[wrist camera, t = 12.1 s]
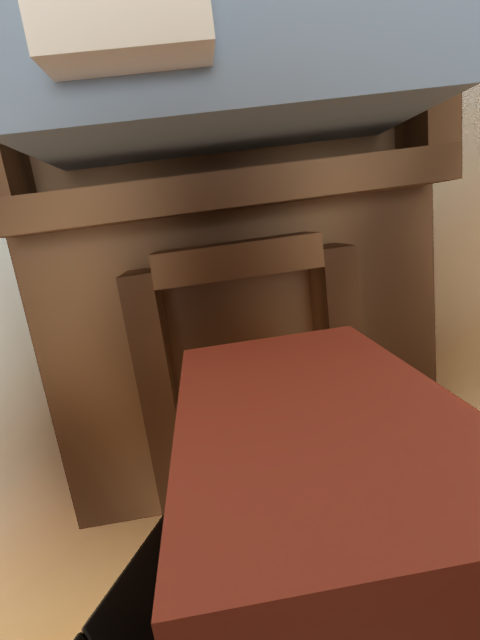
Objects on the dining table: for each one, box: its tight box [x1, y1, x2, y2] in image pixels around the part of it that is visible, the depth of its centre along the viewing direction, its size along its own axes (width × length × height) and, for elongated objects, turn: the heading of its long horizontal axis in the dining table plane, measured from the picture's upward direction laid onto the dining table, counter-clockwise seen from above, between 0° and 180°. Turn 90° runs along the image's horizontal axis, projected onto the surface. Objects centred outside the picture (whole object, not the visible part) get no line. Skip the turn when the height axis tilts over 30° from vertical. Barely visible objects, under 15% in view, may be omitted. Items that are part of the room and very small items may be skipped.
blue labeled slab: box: [0, 0, 480, 171], centre depth 10 cm, size 10×4×6 cm, turn 97°
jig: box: [0, 92, 462, 529], centre depth 13 cm, size 14×20×3 cm
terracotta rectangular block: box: [151, 326, 480, 640], centre depth 6 cm, size 4×6×6 cm, turn 7°
